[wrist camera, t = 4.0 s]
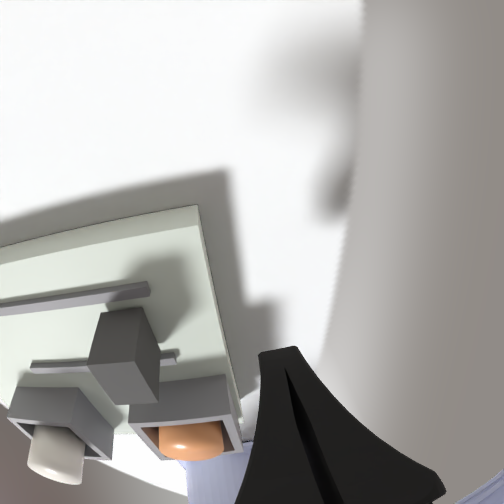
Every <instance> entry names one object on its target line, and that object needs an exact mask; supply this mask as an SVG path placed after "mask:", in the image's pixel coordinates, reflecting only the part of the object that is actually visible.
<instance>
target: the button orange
mask: <svg viewBox="0 0 504 504" xmlns="http://www.w3.org/2000/svg"><path fill="white" fill-rule="evenodd" d="M159 451H160V452H161V453H162V454H163V455H165V456H167V457H169V458H172V459H176V460H182V461H201V460H207V459H211V458H214V457H217V456H219V455H220V454H221V453H222V452H223V451H224V445H223V438H222V430H221V422H220V420H219V421H211V422H203V423H194V424H184V425H173V426H159Z"/></svg>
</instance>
